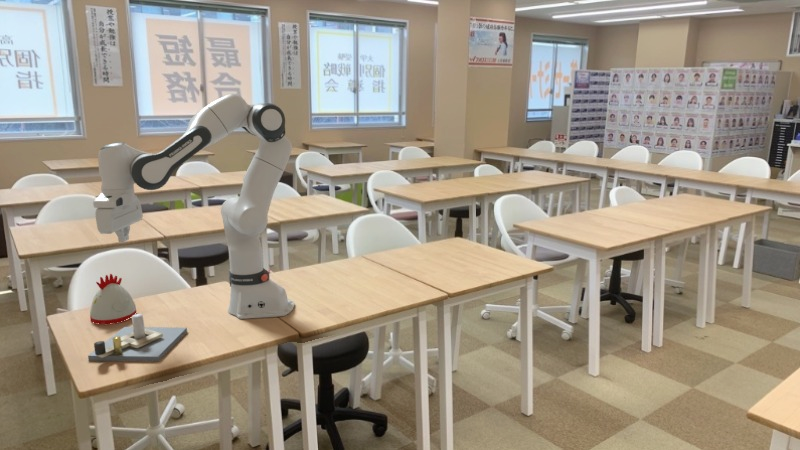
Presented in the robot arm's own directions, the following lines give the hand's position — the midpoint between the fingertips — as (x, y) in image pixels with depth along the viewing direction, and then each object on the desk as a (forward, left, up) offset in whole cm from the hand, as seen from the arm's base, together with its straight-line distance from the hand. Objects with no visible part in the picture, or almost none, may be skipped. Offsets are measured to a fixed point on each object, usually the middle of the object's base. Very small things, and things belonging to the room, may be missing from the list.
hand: (123, 241), depth 170 cm
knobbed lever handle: (-6, +16, -27) cm, 32 cm away
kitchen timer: (+12, -10, -29) cm, 33 cm away
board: (-8, +12, -29) cm, 32 cm away
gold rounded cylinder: (-6, +21, -28) cm, 35 cm away
